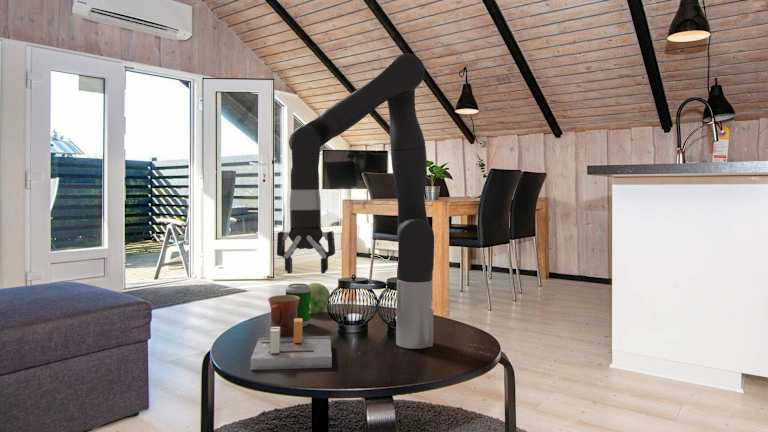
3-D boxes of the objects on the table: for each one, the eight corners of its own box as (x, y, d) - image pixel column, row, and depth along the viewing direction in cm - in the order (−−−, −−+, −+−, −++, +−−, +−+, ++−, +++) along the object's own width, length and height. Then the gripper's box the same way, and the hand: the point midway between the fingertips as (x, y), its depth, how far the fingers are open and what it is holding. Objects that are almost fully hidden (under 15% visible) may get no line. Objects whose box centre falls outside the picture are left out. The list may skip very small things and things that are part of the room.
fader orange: (302, 338, 131) (302, 317, 131) (302, 342, 127) (302, 321, 127) (294, 338, 131) (294, 318, 130) (293, 342, 127) (293, 321, 127)
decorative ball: (332, 315, 168) (332, 285, 167) (301, 317, 165) (301, 286, 165) (327, 309, 177) (327, 280, 177) (298, 310, 175) (298, 281, 174)
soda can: (308, 328, 152) (308, 287, 151) (282, 327, 152) (283, 287, 152) (312, 321, 159) (312, 283, 159) (288, 321, 160) (288, 282, 159)
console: (329, 345, 135) (329, 335, 134) (331, 367, 118) (331, 356, 118) (259, 347, 132) (259, 337, 132) (250, 369, 115) (250, 358, 115)
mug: (275, 329, 150) (275, 294, 150) (304, 331, 148) (304, 295, 148) (257, 340, 138) (257, 302, 138) (288, 343, 137) (288, 304, 136)
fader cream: (280, 348, 122) (280, 326, 122) (278, 353, 119) (279, 330, 119) (271, 348, 122) (271, 326, 122) (270, 353, 119) (270, 330, 118)
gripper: (336, 207, 131) (337, 271, 132) (281, 207, 133) (283, 270, 134) (330, 208, 124) (331, 275, 125) (272, 208, 125) (274, 275, 126)
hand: (306, 273), depth 129 cm, fingers open, 8 cm apart
